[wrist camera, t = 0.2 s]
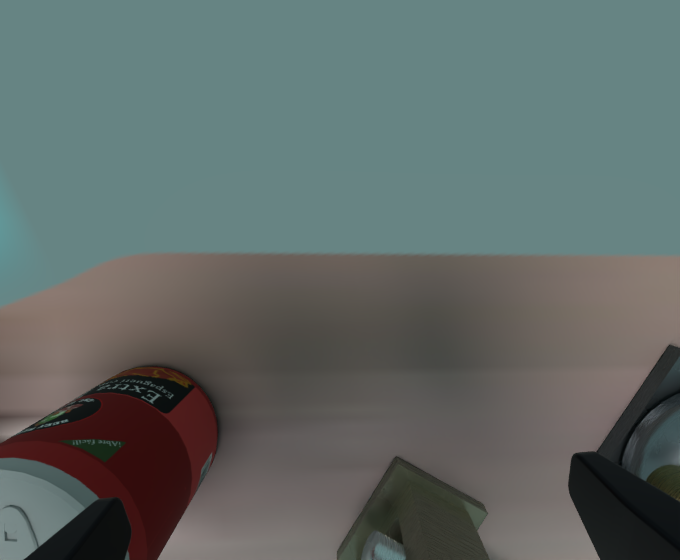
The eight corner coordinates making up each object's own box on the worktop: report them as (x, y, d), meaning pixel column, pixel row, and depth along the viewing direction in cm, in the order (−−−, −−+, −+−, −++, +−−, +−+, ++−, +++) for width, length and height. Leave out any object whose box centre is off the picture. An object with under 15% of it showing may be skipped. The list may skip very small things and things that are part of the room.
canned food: (202, 348, 24) (80, 445, 13) (237, 476, 24) (151, 671, 13) (75, 377, 24) (-152, 497, 13) (115, 503, 25) (-68, 716, 14)
